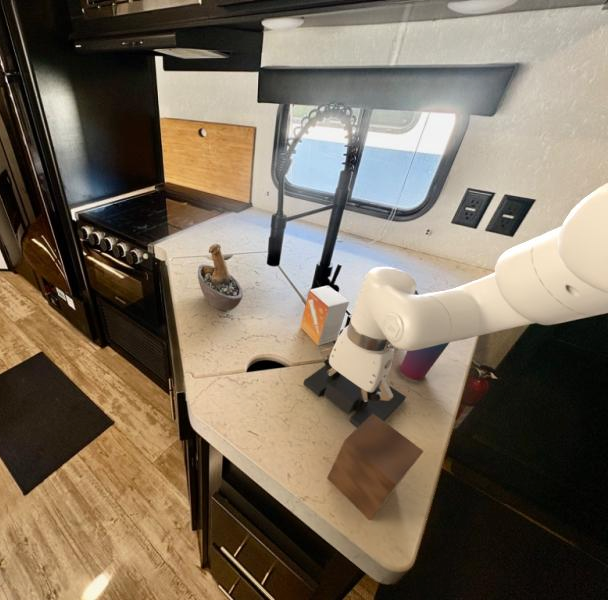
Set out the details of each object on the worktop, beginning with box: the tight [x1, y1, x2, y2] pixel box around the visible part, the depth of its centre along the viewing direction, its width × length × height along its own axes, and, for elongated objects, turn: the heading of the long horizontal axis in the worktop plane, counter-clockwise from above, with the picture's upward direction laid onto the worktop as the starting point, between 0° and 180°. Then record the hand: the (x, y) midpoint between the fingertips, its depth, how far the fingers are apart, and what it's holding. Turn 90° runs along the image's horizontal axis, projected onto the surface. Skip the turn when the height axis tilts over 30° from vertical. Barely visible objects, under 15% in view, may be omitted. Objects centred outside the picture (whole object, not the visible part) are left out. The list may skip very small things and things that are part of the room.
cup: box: [399, 342, 451, 381], centre depth 70 cm, size 7×7×15 cm
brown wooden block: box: [326, 413, 424, 521], centre depth 50 cm, size 8×8×12 cm
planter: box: [197, 243, 244, 312], centre depth 91 cm, size 15×17×20 cm
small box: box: [300, 285, 350, 346], centre depth 82 cm, size 8×6×13 cm
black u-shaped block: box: [303, 364, 407, 429], centre depth 69 cm, size 16×14×2 cm
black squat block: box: [323, 374, 361, 416], centre depth 66 cm, size 6×6×4 cm
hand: (344, 396), depth 66 cm, fingers closed on black squat block, 6 cm apart
